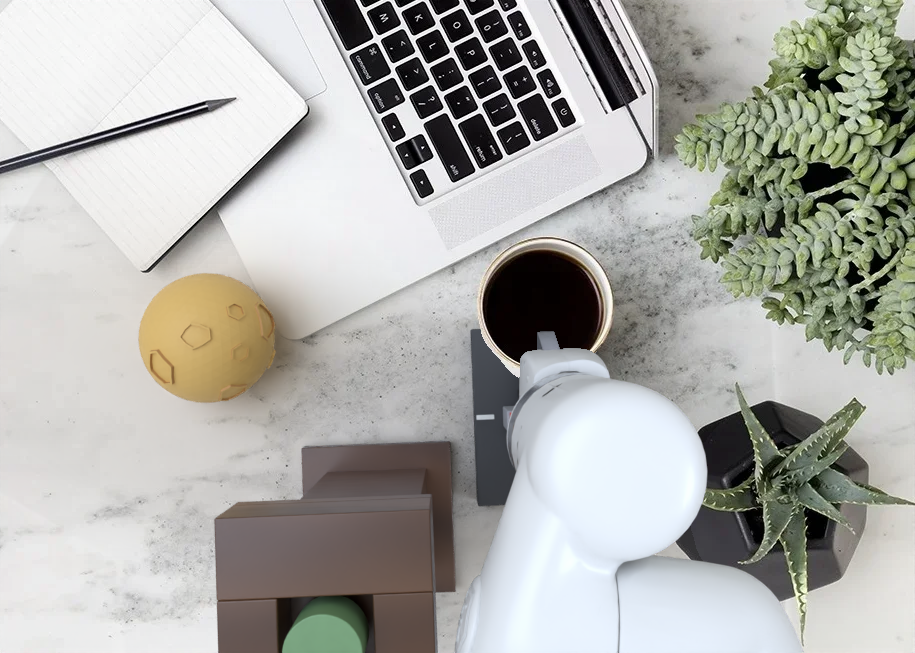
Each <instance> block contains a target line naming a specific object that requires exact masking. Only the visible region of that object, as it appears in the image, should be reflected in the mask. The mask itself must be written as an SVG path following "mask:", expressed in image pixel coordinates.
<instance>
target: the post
mask: <svg viewBox="0 0 915 653" xmlns="http://www.w3.org/2000/svg"><path fill="white" fill-rule="evenodd" d="M300 450H301V474H302V475H301V476H302V477H301V480H302V481H301V482H302V496H301V498H300V499H322V498H346V497H370V496H394V495H418V494H432V509H433V536H434V562H435V589H436V594H439V593H456V592H457V581H456V555H455V554H456V553H455V530H454V529H455V528H454V510H453V509H454V506H453V505H454V504H453V503H454V502H453V479H452V478H453V477H452V476H453V475H452V454H451V453H452V451H451V440H428V441H426V440H425V441H406V442H379V443H377V442H376V443H354V444H331V445H330V444H329V445H305V446H302V447H301V449H300Z"/></svg>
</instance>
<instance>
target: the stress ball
mask: <svg viewBox="0 0 915 653" xmlns="http://www.w3.org/2000/svg"><path fill="white" fill-rule="evenodd" d="M139 323H140V324H139V327H138V328H139V329H138V348H139V349H138V350H139V354H140V357H141V360H142V362H143V365H144V367H145V368H146V370H147V372H148V374H149V375H150V377H151V378H152V380H154V381H155V383H157V384H158V385H159V386H160V387H161V388H162V389H164V390H165V391H166V392H168V393H170V394H171V395H173V396H175V397H177V398H180V399H182V400H185V401H189V402H194V403H201V404H210V403H219V402H229V401H230V400H233V399H235V398H238V397H239V396H240V395H242V394H243V393H246V392H247V391H249V389H250V388H251V387H253V386H254V385H255V384H256V383H257V382H258V381H259V380H260V378H261V377H262V376H263V375H264V373H265V372H266V370H267V369H268V370H270V369H271V366H272V365H273V362H274V360H275V356H276V353H277V350H276V349H275V343H276V342H275V341H276V336H275V331H276V322H275V318H274V316H273V314H272V312H271V311H270V310H269V308H268V307H267V305H266V303H265V302H264V301H263V299H262V298H261V297H260V296H259V295H258V293H256V291H255V290H253V289H252V288H250V287H249V286H248V285H247V284H246V283H244V282H242V281H240V280H238V279H236V278H234V277H231V276H228V275H225V274H219V273H209V272H203V273H193V274H190V275H186V276H185V275H184V276H183V277H180V278H178V279H176V280H174V281H172V282H170V283H168V284H167V285H165V286H164V287H163V288H161V289H160V290H159V291H158V293H156V294H155V295H154V296H153V297H152V299H151V300H150V302H149V303H148V304H147V306H146V308H145V310H144V312H143V314H142V317H141V320H140V322H139Z"/></svg>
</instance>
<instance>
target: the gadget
mask: <svg viewBox="0 0 915 653" xmlns="http://www.w3.org/2000/svg"><path fill="white" fill-rule="evenodd" d="M480 329H481V328H471V329H470V330H469V333H470V334H469V335H470V336H469V338H470V357H471V358H470V359H471V361H470V362H471V384H472V385H471V386H472V388H471V389H472V408H473V409H472V410H473V411H472V412H473V436H474V437H473V438H474V462H475V463H474V464H475V487H476V488H475V490H476V503H477V506H478V507H491V506H492V507H495V506H498V507H499V506H505V504H506V501H507V498H508V495H509V492H510V489H511V486H512V483H513V480H514V477H515V474H516V471H515V469H514V467H513V465H512V462H511V460H510V457H509V452H508V448H507V430H506V429H505V427H504V426H503V407H504V406H515V405H516V403H517V402H518V400H519V397H518V394H517V390H519V378H518V377H516V376H515V375H513V374H512V373H511V372H510V371H509V370H508V369H507V368H506V367H505V365H504V364H503V363H502V362H501V360H500V359H499V358H498V357H497V356H496V355H495V354H494V353H493V352H492V350H491V349H490V348H489V347H488V346H487V344H486V343H485V341H484V339H483V337H482V334H481V330H480ZM598 351H599V350H598ZM598 351H597V352H596V353H595V354H596V355H598V356H599V354H598V353H599V352H598Z"/></svg>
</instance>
